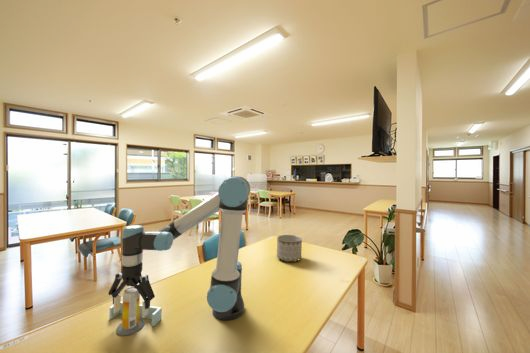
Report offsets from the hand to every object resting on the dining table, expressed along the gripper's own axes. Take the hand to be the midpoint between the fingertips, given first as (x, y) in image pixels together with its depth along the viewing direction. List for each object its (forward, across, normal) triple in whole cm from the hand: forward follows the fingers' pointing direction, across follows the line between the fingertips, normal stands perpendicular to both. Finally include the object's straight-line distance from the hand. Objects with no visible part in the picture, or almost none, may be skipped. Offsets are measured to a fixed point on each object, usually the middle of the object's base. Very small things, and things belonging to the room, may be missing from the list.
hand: (130, 313), depth 91 cm
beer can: (+5, 0, 0) cm, 5 cm away
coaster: (+6, 0, 0) cm, 6 cm away
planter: (+6, -60, -93) cm, 111 cm away
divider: (+6, +2, -5) cm, 8 cm away
